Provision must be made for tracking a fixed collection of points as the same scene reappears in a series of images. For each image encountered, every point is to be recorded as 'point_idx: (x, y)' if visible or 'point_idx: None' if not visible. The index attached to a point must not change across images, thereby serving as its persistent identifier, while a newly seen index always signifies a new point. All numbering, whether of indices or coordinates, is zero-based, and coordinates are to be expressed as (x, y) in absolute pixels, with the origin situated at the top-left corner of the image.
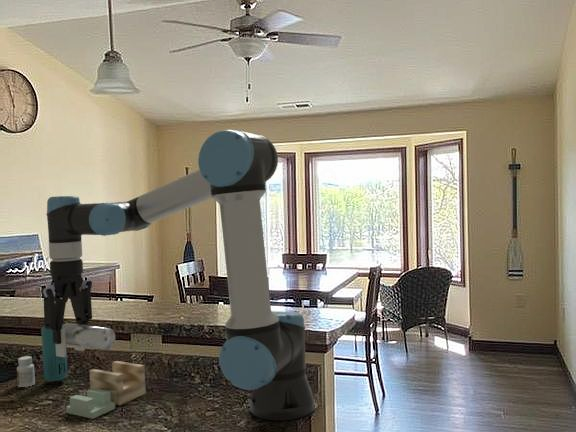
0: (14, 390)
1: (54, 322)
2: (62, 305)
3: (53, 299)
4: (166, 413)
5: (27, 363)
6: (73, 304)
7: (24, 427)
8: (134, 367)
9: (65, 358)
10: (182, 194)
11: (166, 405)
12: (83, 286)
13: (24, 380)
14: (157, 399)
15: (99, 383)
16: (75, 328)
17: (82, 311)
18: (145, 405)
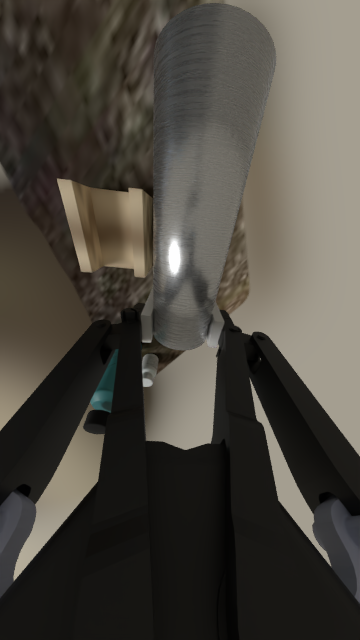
0: (165, 358)
1: (264, 346)
2: (247, 399)
3: (338, 460)
4: (142, 18)
5: (148, 374)
6: (143, 397)
7: (248, 276)
8: (78, 204)
9: (116, 352)
10: None
11: (108, 71)
12: (5, 534)
13: (155, 361)
14: (96, 134)
15: (148, 249)
16: (209, 291)
17: (128, 347)
18: (131, 138)
